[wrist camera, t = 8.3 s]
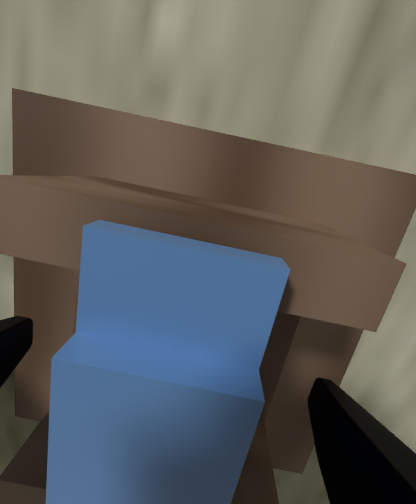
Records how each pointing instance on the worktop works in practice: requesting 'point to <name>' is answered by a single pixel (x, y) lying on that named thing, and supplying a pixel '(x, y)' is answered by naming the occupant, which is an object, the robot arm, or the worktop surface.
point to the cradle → (202, 229)
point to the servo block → (160, 369)
